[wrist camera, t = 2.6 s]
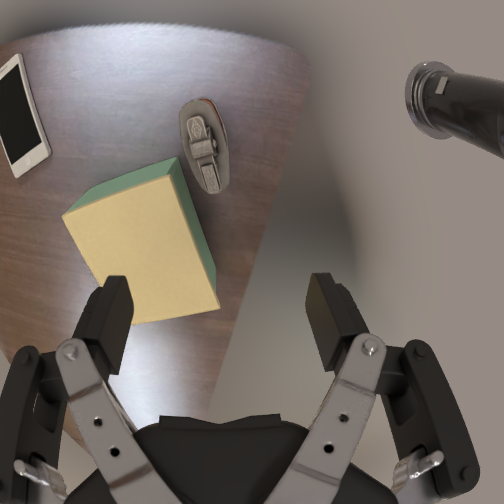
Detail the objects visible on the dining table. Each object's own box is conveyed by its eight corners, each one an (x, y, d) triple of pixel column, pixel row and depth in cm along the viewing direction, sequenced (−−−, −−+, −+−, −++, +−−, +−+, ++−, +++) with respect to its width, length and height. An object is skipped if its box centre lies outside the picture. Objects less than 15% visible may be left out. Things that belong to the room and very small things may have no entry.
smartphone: (19, 177, 26) (15, 179, 25) (-12, 83, 17) (-16, 84, 16) (52, 153, 25) (49, 155, 24) (21, 52, 17) (17, 52, 16)
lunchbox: (177, 156, 28) (165, 174, 23) (216, 268, 37) (216, 304, 31) (90, 187, 29) (65, 212, 23) (139, 286, 37) (128, 321, 32)
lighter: (184, 102, 25) (164, 109, 17) (215, 93, 25) (211, 95, 17) (204, 171, 29) (196, 209, 21) (234, 163, 29) (238, 198, 21)
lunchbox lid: (170, 173, 22) (169, 176, 22) (220, 303, 31) (220, 308, 30) (64, 212, 23) (61, 216, 22) (128, 321, 32) (127, 326, 31)
